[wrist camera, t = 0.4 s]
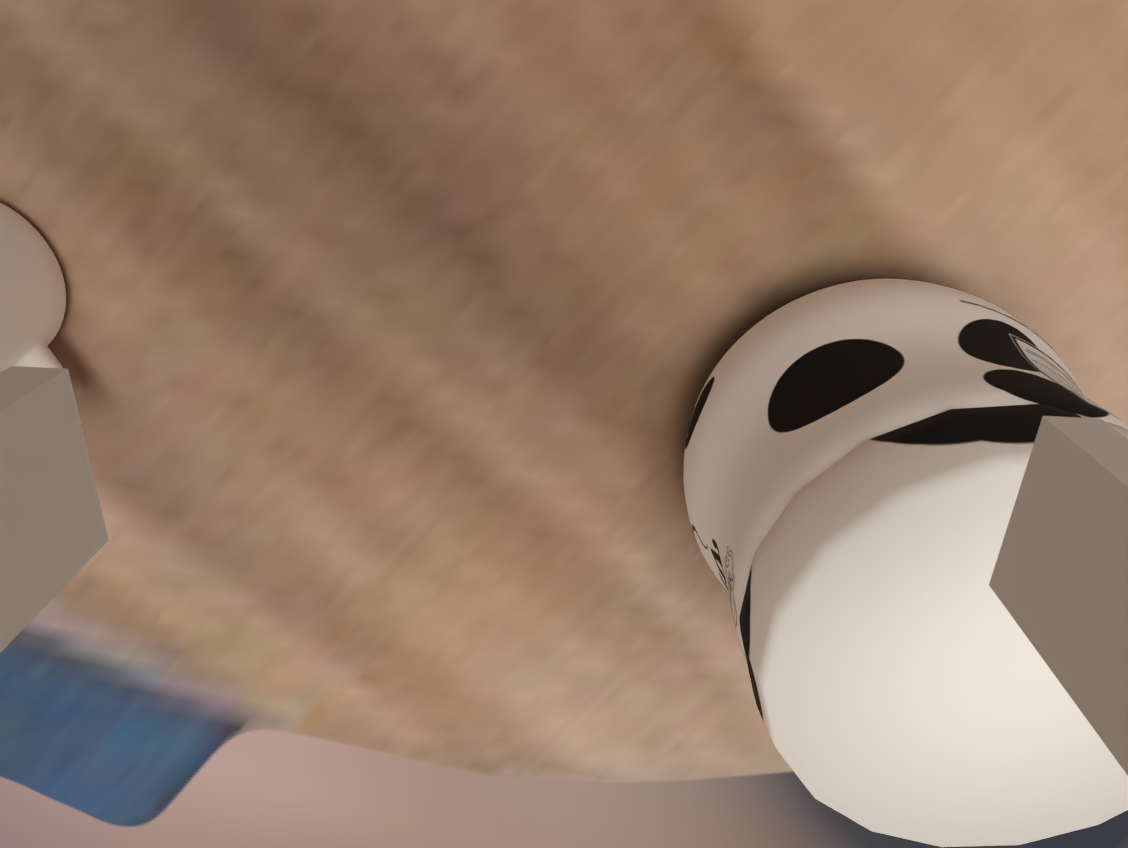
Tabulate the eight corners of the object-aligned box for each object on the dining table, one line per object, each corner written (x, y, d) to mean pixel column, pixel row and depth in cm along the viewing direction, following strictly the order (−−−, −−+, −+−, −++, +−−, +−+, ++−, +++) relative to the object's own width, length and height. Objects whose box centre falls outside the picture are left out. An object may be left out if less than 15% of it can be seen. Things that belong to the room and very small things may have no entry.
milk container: (660, 563, 45) (699, 857, 29) (693, 250, 38) (770, 407, 21) (976, 578, 45) (1196, 884, 29) (1070, 266, 38) (1438, 439, 21)
